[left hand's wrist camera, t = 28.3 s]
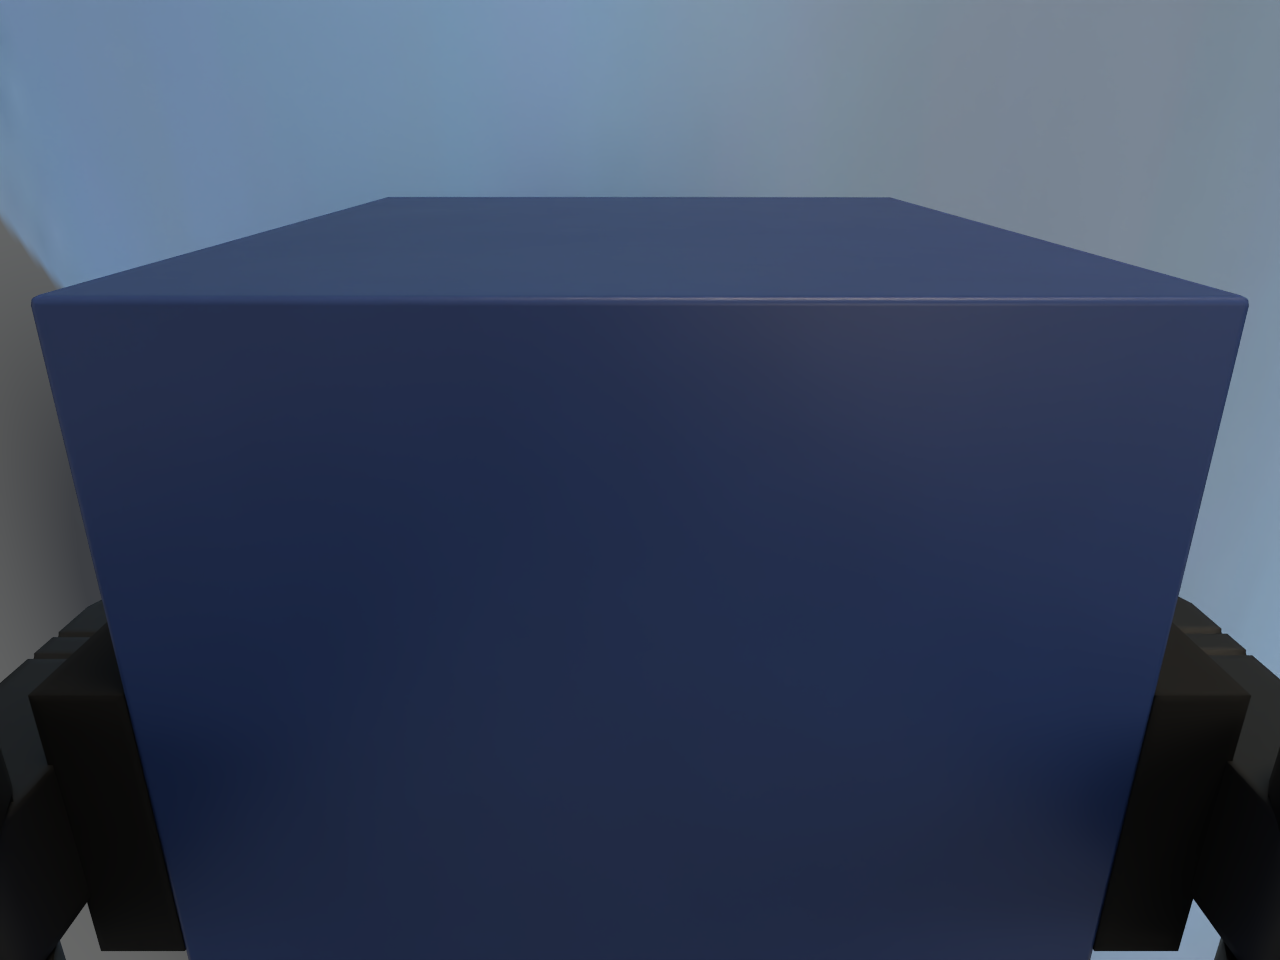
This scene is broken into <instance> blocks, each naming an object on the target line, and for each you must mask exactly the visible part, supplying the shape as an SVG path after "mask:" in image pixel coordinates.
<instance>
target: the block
mask: <svg viewBox="0 0 1280 960" xmlns="http://www.w3.org/2000/svg"><path fill="white" fill-rule="evenodd" d="M31 307H32V311H33V315H34V320H35V324H36V328H37V332H38V336H39V340H40V344H41V349H42V353H43V357H44V361H45V365H46V369H47V374H48V378H49V382H50V386H51V390H52V394H53V398H54V403H55V407H56V411H57V415H58V419H59V423H60V427H61V431H62V436H63V440H64V444H65V448H66V452H67V456H68V461H69V465H70V469H71V473H72V477H73V481H74V486H75V490H76V494H77V498H78V502H79V506H80V510H81V514H82V519H83V523H84V527H85V531H86V535H87V539H88V544H89V548H90V552H91V556H92V560H93V564H94V568H95V573H96V577H97V581H98V585H99V589H100V593H101V598H102V602H103V606H104V610H105V614H106V618H107V622H108V627H109V631H110V635H111V639H112V643H113V647H114V652H115V656H116V660H117V664H118V668H119V672H120V676H121V681H122V685H123V689H124V693H125V697H126V701H127V705H128V710H129V714H130V718H131V722H132V726H133V730H134V735H135V739H136V743H137V747H138V751H139V755H140V759H141V764H142V768H143V772H144V776H145V780H146V784H147V788H148V793H149V797H150V801H151V805H152V809H153V813H154V818H155V822H156V826H157V830H158V834H159V838H160V842H161V847H162V851H163V855H164V859H165V863H166V867H167V871H168V876H169V880H170V884H171V888H172V892H173V896H174V900H175V905H176V909H177V913H178V917H179V921H180V925H181V930H182V934H183V938H184V942H185V946H186V950H187V954H188V958H189V960H1090V958H1091V954H1092V950H1093V946H1094V941H1095V937H1096V933H1097V929H1098V925H1099V921H1100V917H1101V913H1102V909H1103V904H1104V900H1105V896H1106V892H1107V888H1108V884H1109V880H1110V876H1111V871H1112V867H1113V863H1114V859H1115V855H1116V851H1117V847H1118V843H1119V838H1120V834H1121V830H1122V826H1123V822H1124V818H1125V814H1126V810H1127V805H1128V801H1129V797H1130V793H1131V789H1132V785H1133V781H1134V777H1135V773H1136V768H1137V764H1138V760H1139V756H1140V752H1141V748H1142V744H1143V740H1144V735H1145V731H1146V727H1147V723H1148V719H1149V715H1150V711H1151V707H1152V702H1153V698H1154V694H1155V690H1156V686H1157V682H1158V678H1159V674H1160V669H1161V665H1162V661H1163V657H1164V653H1165V649H1166V645H1167V641H1168V636H1169V632H1170V628H1171V624H1172V620H1173V616H1174V612H1175V608H1176V604H1177V599H1178V595H1179V591H1180V587H1181V583H1182V579H1183V575H1184V571H1185V566H1186V562H1187V558H1188V554H1189V550H1190V546H1191V542H1192V538H1193V533H1194V529H1195V525H1196V521H1197V517H1198V513H1199V509H1200V505H1201V500H1202V496H1203V492H1204V488H1205V484H1206V480H1207V476H1208V472H1209V467H1210V463H1211V459H1212V455H1213V451H1214V447H1215V443H1216V439H1217V435H1218V430H1219V426H1220V422H1221V418H1222V414H1223V410H1224V406H1225V402H1226V397H1227V393H1228V389H1229V385H1230V381H1231V377H1232V373H1233V369H1234V364H1235V360H1236V356H1237V352H1238V348H1239V344H1240V340H1241V336H1242V331H1243V327H1244V323H1245V319H1246V315H1247V311H1248V307H1249V304H1248V300H1247V298H1245V297H1243V296H1241V295H1237V294H1234V293H1230V292H1226V291H1223V290H1219V289H1216V288H1212V287H1208V286H1205V285H1201V284H1198V283H1194V282H1191V281H1187V280H1183V279H1180V278H1176V277H1173V276H1169V275H1166V274H1162V273H1158V272H1155V271H1151V270H1148V269H1144V268H1140V267H1137V266H1133V265H1130V264H1126V263H1123V262H1119V261H1115V260H1112V259H1108V258H1105V257H1101V256H1097V255H1094V254H1090V253H1087V252H1083V251H1080V250H1076V249H1072V248H1069V247H1065V246H1062V245H1058V244H1055V243H1051V242H1047V241H1044V240H1040V239H1037V238H1033V237H1029V236H1026V235H1022V234H1019V233H1015V232H1012V231H1008V230H1004V229H1001V228H997V227H994V226H990V225H987V224H983V223H979V222H976V221H972V220H969V219H965V218H961V217H958V216H954V215H951V214H947V213H944V212H940V211H936V210H933V209H929V208H926V207H922V206H918V205H915V204H911V203H908V202H904V201H901V200H897V199H893V198H858V197H387V198H383V199H380V200H376V201H373V202H369V203H366V204H362V205H358V206H355V207H351V208H348V209H344V210H341V211H337V212H333V213H330V214H326V215H323V216H319V217H316V218H312V219H308V220H305V221H301V222H298V223H294V224H291V225H287V226H283V227H280V228H276V229H273V230H269V231H266V232H262V233H258V234H255V235H251V236H248V237H244V238H241V239H237V240H233V241H230V242H226V243H223V244H219V245H216V246H212V247H208V248H205V249H201V250H198V251H194V252H191V253H187V254H183V255H180V256H176V257H173V258H169V259H166V260H162V261H158V262H155V263H151V264H148V265H144V266H141V267H137V268H133V269H130V270H126V271H123V272H119V273H116V274H112V275H108V276H105V277H101V278H98V279H94V280H91V281H87V282H83V283H80V284H76V285H73V286H69V287H66V288H62V289H58V290H55V291H51V292H48V293H44V294H41V295H38V296H36V297H34V298H33V299H32V302H31Z"/></svg>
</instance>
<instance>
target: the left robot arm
mask: <svg viewBox="0 0 1280 960" xmlns="http://www.w3.org/2000/svg"><path fill="white" fill-rule="evenodd" d="M1193 899H1194V900H1195V902H1196V903H1197V904H1198V906H1199V907H1200V909H1201V910H1202V911H1203V913H1204V914H1205V916H1206V917H1207V918H1208V920H1209V921H1210V923H1211V924H1212V925H1213V927H1214V928H1215V930H1216V931H1217V932H1218V934H1219V935H1220V937H1221V939H1220V943H1219V946H1218V949H1217V952H1216V956H1215V959H1214V960H1280V679H1279V678H1278V677H1277V676H1276V675H1274V674H1273V673H1272V672H1271V671H1270V670H1269V669H1267V668H1266V667H1265V666H1264V665H1263V664H1262V663H1260V662H1259V661H1258V660H1257V659H1256V658H1255V657H1253V656H1252V655H1246V650H1245V649H1244V648H1243V647H1242V646H1241V645H1240V644H1238V643H1237V642H1236V641H1235V640H1234V639H1233V638H1231V637H1230V636H1229V635H1228V634H1222V633H1221V628H1220V627H1219V626H1218V625H1216V624H1215V623H1214V622H1213V621H1212V620H1211V619H1209V618H1208V617H1207V616H1206V615H1205V614H1204V613H1202V612H1201V611H1200V610H1199V609H1198V608H1197V607H1195V606H1194V605H1193V604H1192V603H1190V602H1188V601H1186V600H1184V599H1182V598H1180V597H1178V599H1177V604H1176V608H1175V612H1174V616H1173V620H1172V624H1171V628H1170V632H1169V636H1168V641H1167V645H1166V649H1165V653H1164V657H1163V661H1162V665H1161V669H1160V674H1159V678H1158V682H1157V686H1156V690H1155V694H1154V698H1153V702H1152V707H1151V711H1150V715H1149V719H1148V723H1147V727H1146V731H1145V735H1144V740H1143V744H1142V748H1141V752H1140V756H1139V760H1138V764H1137V768H1136V773H1135V777H1134V781H1133V785H1132V789H1131V793H1130V797H1129V801H1128V805H1127V810H1126V814H1125V818H1124V822H1123V826H1122V830H1121V834H1120V838H1119V843H1118V847H1117V851H1116V855H1115V859H1114V863H1113V867H1112V871H1111V876H1110V880H1109V884H1108V888H1107V892H1106V896H1105V900H1104V904H1103V909H1102V913H1101V917H1100V921H1099V925H1098V929H1097V933H1096V937H1095V941H1094V946H1093V950H1094V951H1178V949H1179V946H1180V942H1181V939H1182V936H1183V932H1184V929H1185V925H1186V922H1187V918H1188V915H1189V911H1190V908H1191V904H1192V901H1193ZM86 903H88V907H89V910H90V914H91V917H92V921H93V924H94V928H95V931H96V935H97V938H98V942H99V945H100V949H101V951H185V950H186V946H185V942H184V938H183V934H182V930H181V925H180V921H179V917H178V913H177V909H176V905H175V900H174V896H173V892H172V888H171V884H170V880H169V876H168V871H167V867H166V863H165V859H164V855H163V851H162V847H161V842H160V838H159V834H158V830H157V826H156V822H155V818H154V813H153V809H152V805H151V801H150V797H149V793H148V788H147V784H146V780H145V776H144V772H143V768H142V764H141V759H140V755H139V751H138V747H137V743H136V739H135V735H134V730H133V726H132V722H131V718H130V714H129V710H128V705H127V701H126V697H125V693H124V689H123V685H122V681H121V676H120V672H119V668H118V664H117V660H116V656H115V652H114V647H113V643H112V639H111V635H110V631H109V627H108V622H107V618H106V614H105V610H104V606H103V602H102V600H100V601H99V602H96V603H94V604H93V605H90V606H89V607H87V608H86V609H85V610H84V611H83V612H81V613H80V614H79V615H78V616H77V617H76V618H74V619H73V620H72V621H71V622H70V623H69V624H68V625H66V626H65V627H64V628H63V629H62V630H61V631H60V632H59V636H58V637H53V638H51V639H50V640H49V641H48V642H47V643H46V644H45V645H43V646H42V647H41V648H40V649H39V650H38V651H37V652H35V653H34V659H27V660H26V661H25V662H24V663H23V664H22V665H20V666H19V667H18V668H17V669H16V670H15V671H14V672H12V673H11V674H10V675H9V676H8V677H7V678H5V679H4V680H3V681H2V682H1V683H0V960H66V959H65V956H64V952H63V949H62V946H61V943H60V939H61V938H62V936H63V935H64V934H65V932H66V931H67V929H68V928H69V927H70V925H71V924H72V922H73V921H74V920H75V918H76V917H77V915H78V914H79V913H80V911H81V910H82V908H83V907H84V906H85V904H86Z"/></svg>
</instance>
